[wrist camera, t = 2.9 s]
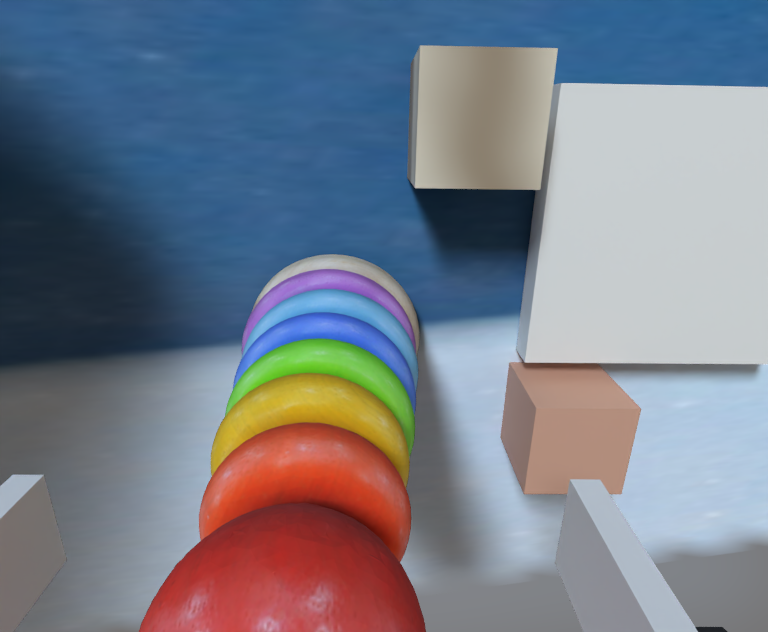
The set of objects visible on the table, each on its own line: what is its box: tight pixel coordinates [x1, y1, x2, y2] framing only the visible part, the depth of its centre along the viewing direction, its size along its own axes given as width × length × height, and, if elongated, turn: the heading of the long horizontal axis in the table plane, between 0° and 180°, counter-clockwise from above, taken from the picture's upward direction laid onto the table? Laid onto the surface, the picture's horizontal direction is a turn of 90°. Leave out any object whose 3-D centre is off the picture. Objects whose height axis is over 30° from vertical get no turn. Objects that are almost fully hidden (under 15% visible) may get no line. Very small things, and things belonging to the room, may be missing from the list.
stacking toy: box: [139, 254, 426, 632], centre depth 15 cm, size 8×8×19 cm
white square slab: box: [516, 83, 768, 364], centre depth 22 cm, size 12×12×2 cm
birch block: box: [407, 46, 558, 190], centre depth 19 cm, size 4×4×4 cm
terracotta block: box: [501, 362, 641, 494], centre depth 24 cm, size 4×4×4 cm
